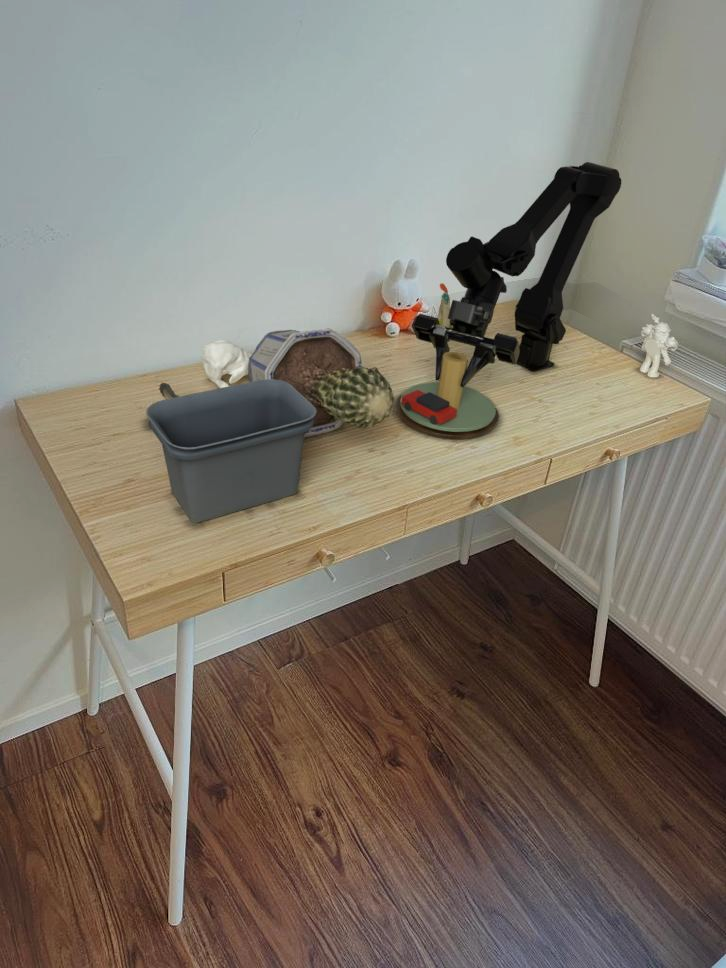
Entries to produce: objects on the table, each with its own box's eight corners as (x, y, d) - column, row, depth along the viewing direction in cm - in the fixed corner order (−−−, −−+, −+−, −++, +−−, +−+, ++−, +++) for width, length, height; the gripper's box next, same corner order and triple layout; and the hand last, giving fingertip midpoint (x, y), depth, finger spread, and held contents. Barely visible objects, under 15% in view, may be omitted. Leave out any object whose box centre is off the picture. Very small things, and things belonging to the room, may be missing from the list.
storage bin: (181, 542, 103) (174, 451, 94) (142, 482, 113) (133, 396, 105) (320, 501, 113) (325, 416, 105) (273, 450, 123) (274, 369, 115)
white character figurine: (627, 364, 161) (643, 310, 154) (641, 362, 163) (658, 308, 156) (656, 384, 154) (674, 328, 148) (671, 381, 156) (690, 326, 149)
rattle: (469, 346, 163) (477, 294, 156) (430, 340, 164) (438, 288, 157) (472, 333, 169) (481, 282, 162) (435, 327, 170) (442, 276, 163)
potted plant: (226, 325, 126) (326, 354, 103) (318, 313, 136) (428, 337, 113) (235, 428, 133) (331, 476, 110) (322, 409, 142) (427, 450, 119)
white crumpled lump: (198, 336, 135) (257, 330, 142) (196, 380, 140) (254, 372, 147) (214, 350, 131) (275, 343, 138) (212, 395, 136) (271, 386, 143)
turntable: (441, 377, 147) (448, 328, 141) (514, 412, 138) (524, 361, 132) (380, 403, 137) (385, 351, 131) (454, 442, 127) (463, 389, 122)
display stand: (450, 380, 148) (450, 377, 148) (519, 423, 137) (520, 419, 136) (374, 403, 139) (375, 399, 138) (442, 450, 127) (443, 446, 127)
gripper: (422, 268, 131) (389, 351, 128) (528, 292, 125) (496, 379, 122) (432, 298, 141) (403, 375, 139) (531, 322, 135) (502, 403, 133)
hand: (449, 383), depth 133 cm, fingers closed on turntable, 4 cm apart
